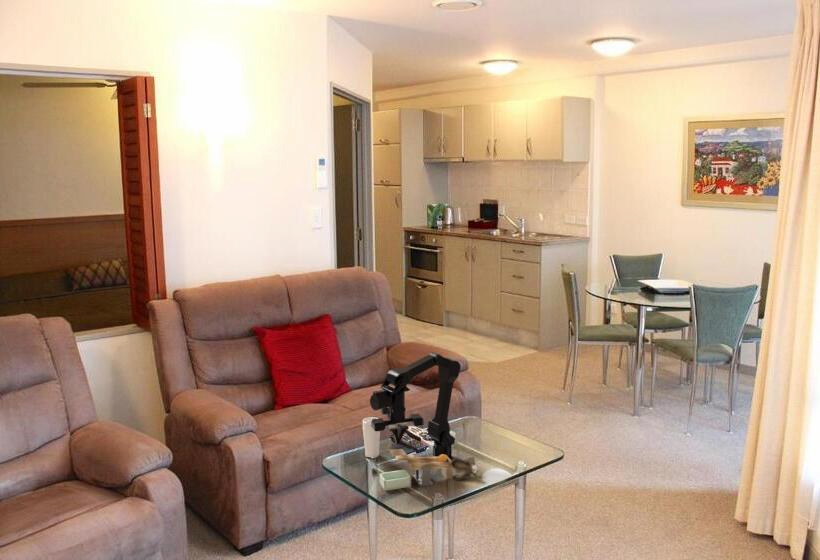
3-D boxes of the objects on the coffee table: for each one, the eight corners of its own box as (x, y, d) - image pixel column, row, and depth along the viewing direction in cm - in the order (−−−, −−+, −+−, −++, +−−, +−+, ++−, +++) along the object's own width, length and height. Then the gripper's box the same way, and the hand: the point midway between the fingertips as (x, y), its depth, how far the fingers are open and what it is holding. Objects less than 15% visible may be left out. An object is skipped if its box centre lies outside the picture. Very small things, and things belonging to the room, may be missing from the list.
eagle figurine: (470, 466, 275) (448, 465, 272) (477, 455, 271) (454, 454, 268) (474, 484, 270) (452, 483, 267) (481, 473, 265) (459, 472, 262)
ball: (444, 461, 270) (445, 452, 270) (447, 464, 267) (448, 456, 267) (436, 460, 269) (437, 452, 269) (439, 464, 266) (440, 456, 266)
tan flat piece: (438, 452, 279) (438, 446, 279) (451, 468, 266) (451, 461, 266) (389, 454, 273) (389, 448, 273) (400, 470, 260) (400, 463, 260)
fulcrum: (446, 470, 274) (446, 453, 273) (454, 481, 266) (454, 463, 265) (412, 475, 271) (412, 458, 269) (420, 486, 262) (419, 468, 261)
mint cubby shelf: (405, 478, 269) (405, 469, 268) (411, 486, 262) (411, 477, 262) (379, 482, 266) (379, 473, 265) (384, 490, 259) (384, 481, 259)
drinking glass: (373, 461, 283) (372, 424, 280) (359, 456, 287) (358, 420, 284) (384, 455, 289) (383, 419, 286) (371, 450, 293) (370, 415, 290)
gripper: (414, 394, 278) (415, 432, 281) (367, 399, 273) (367, 438, 276) (423, 403, 268) (424, 443, 271) (374, 409, 262) (375, 450, 265)
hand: (397, 443), depth 271 cm, fingers closed
